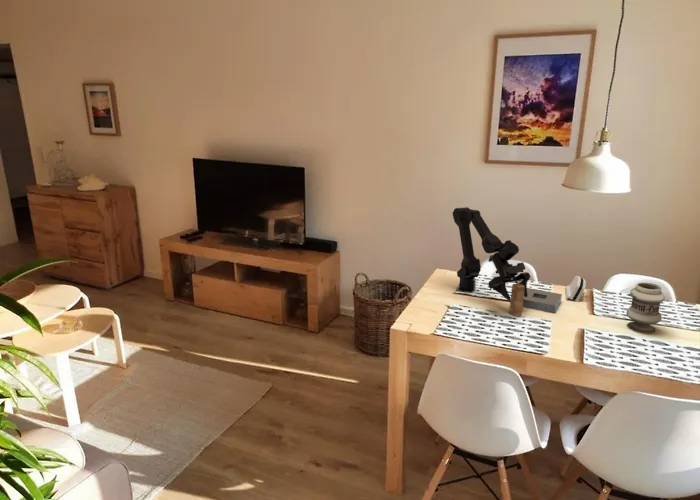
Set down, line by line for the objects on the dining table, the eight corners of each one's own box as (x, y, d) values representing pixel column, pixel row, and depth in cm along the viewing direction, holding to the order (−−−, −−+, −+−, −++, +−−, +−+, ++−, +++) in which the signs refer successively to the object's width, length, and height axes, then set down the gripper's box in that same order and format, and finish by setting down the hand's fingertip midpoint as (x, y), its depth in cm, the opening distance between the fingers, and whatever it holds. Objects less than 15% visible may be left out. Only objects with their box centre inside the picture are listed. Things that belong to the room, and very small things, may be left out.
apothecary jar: (617, 324, 205) (624, 282, 200) (638, 320, 210) (645, 278, 205) (644, 336, 194) (652, 292, 189) (665, 331, 199) (674, 288, 194)
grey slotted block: (516, 305, 223) (517, 298, 222) (524, 294, 236) (525, 287, 235) (554, 313, 215) (555, 305, 214) (560, 301, 228) (561, 294, 227)
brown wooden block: (509, 313, 214) (512, 284, 210) (515, 312, 215) (518, 283, 212) (515, 316, 211) (518, 287, 207) (521, 315, 212) (524, 286, 209)
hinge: (564, 288, 245) (575, 270, 241) (574, 293, 244) (584, 275, 240) (565, 300, 230) (576, 281, 226) (575, 305, 229) (587, 286, 225)
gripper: (495, 258, 206) (512, 293, 200) (530, 253, 214) (547, 286, 208) (481, 271, 215) (496, 305, 209) (514, 266, 223) (530, 298, 217)
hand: (518, 298), depth 210 cm, fingers open, 9 cm apart
